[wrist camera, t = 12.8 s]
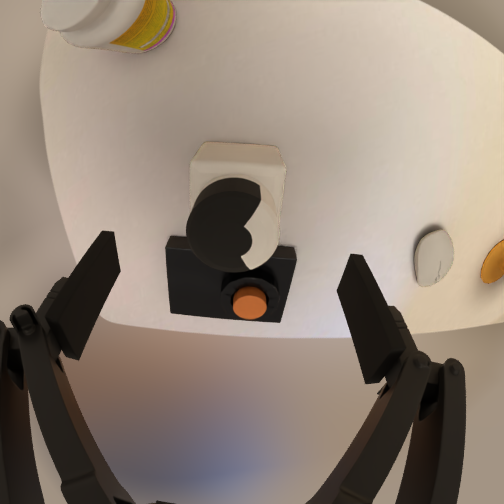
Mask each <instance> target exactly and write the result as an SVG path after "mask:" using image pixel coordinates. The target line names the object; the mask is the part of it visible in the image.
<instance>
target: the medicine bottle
mask: <svg viewBox="0 0 504 504" xmlns="http://www.w3.org/2000/svg"><path fill="white" fill-rule="evenodd" d="M285 177H286V167H285V164H284V162H283V159H282V157H281V155H280V152H279V150H278V148H277V147H276V146H268V145H256V144H241V143H221V142H204V143H203V144H202V146H201V147H200V149H199V150H198V151H197V153H196V154H195V156H194V157H193V159H192V160H191V162H190V216H189V218H188V221H187V226H186V235H187V240H188V243H189V246H190V248H191V250H192V251H193V253H194V254H195V255H196V257H198V258H199V259H200V260H201V261H202V262H203V263H205V264H206V265H208V266H210V267H212V268H214V269H217V270H220V271H224V272H244V271H248V270H252V269H254V268H256V267H258V266H260V265H262V264H263V263H264V262H266V261H267V260H268V259H269V258H270V257H271V256H272V254H273V253H274V252H275V250H276V248H277V245H278V243H279V238H280V228H279V221H280V214H281V207H282V199H283V192H284V184H285Z"/></svg>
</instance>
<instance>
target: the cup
mask: <svg viewBox="0 0 504 504" xmlns="http://www.w3.org/2000/svg"><path fill="white" fill-rule="evenodd" d="M503 275H504V240H503V241H501V242H500V243H498V244H497V245H496V246H495V247H494V248H493V249H492V250H491V251H490V252H489V254H488V256H487V257H486V259H485V261H484V263H483V266H482V269H481V278H482V280H483V282H484V283H488V284H489V283H492V282H495V281H496V280H498V279H499V278H501V277H502V276H503Z"/></svg>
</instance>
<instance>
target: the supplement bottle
mask: <svg viewBox="0 0 504 504" xmlns="http://www.w3.org/2000/svg"><path fill="white" fill-rule="evenodd" d="M41 19H42V22H43V23H44V25H45V26H46V27H47V28H49V29H51V30H55V31H59V32H60V34H61V36H62V37H63V38H64V39H65V40H66V41H67V42H68V43H70V44H72V45H74V46H77V47H82V48H93V49H103V50H111V51H119V52H125V53H143V52H147V51H149V50H152V49H154V48H156V47H157V46H159V45H160V44H161V43H163V42H164V41H165V40H166V39H167V38H168V36H169V35H170V33H171V32H172V30H173V28H174V25H175V22H176V10H175V7H174V5H173V3H172V2H171V1H170V0H43V1H42V5H41Z"/></svg>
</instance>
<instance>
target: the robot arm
mask: <svg viewBox="0 0 504 504" xmlns="http://www.w3.org/2000/svg"><path fill="white" fill-rule="evenodd" d="M120 272H121V270H120V265H119V259H118V254H117V248H116V241H115V235H114V232H112V231H102V232H101V233H100V234H99V236H98V237H97V238H96V240H95V241H94V242H93V244H92V245H91V246H90V248H89V249H88V250H87V252H86V253H85V255H84V256H83V257H82V259H81V260H80V262H79V263H78V264H77V266H76V267H75V269H74V271H73V272H72V273H71V275H70V276H69V278H66V277H62V278H61V279H60V280H59V281H57V282H56V283H55V284H54V286H53V287H52V289H51V290H50V292H49V293H48V295H47V298H45V300H44V301H43V303H42V304H41V306H40V308H39V309H38V311H37V312H36V313H35V311H34V309H33V307H32V306H30V305H26V304H25V305H20V306H18V307H17V308H15V310H14V311H12V313H11V315H10V321H11V323H12V325H13V327H14V328H7V327H6V326H5V324H4V322H2V321H1V320H0V504H45V503H44V498H43V494H42V490H41V486H40V482H39V477H38V473H37V468H36V462H35V457H34V450H33V444H32V437H31V427H30V416H29V400H28V390H29V393H30V397H31V401H32V404H33V408H34V411H35V414H36V417H37V420H38V423H39V426H40V429H41V432H42V435H43V437H44V440H45V443H46V445H47V448H48V450H49V453H50V455H51V458H52V460H53V462H54V464H55V467H56V469H57V471H58V473H59V475H60V478H61V480H62V484H61V491H62V493H63V496H64V498H65V500H66V501H67V503H68V504H136V503H135V502H134V501H133V499H132V498H131V496H130V495H129V494H128V492H127V491H126V490H125V489H124V488H123V487H122V486H121V485H120V483H119V482H118V480H117V479H116V477H115V476H114V474H113V472H112V471H111V469H110V467H109V466H108V464H107V462H106V461H105V459H104V457H103V455H102V453H101V452H100V450H99V448H98V446H97V444H96V442H95V440H94V438H93V436H92V434H91V432H90V430H89V428H88V426H87V424H86V422H85V420H84V417H83V415H82V413H81V411H80V408H79V406H78V404H77V401H76V399H75V396H74V394H73V391H72V389H71V386H70V384H69V381H68V378H67V376H66V373H65V371H64V367H63V364H62V361H61V359H60V357H59V354H60V352H61V350H62V351H63V353H64V355H65V356H66V357H68V358H72V359H75V360H79V359H80V357H81V354H82V352H83V350H84V347H85V345H86V343H87V340H88V338H89V336H90V333H91V331H92V329H93V327H94V325H95V322H96V320H97V318H98V316H99V314H100V312H101V309H102V307H103V305H104V303H105V301H106V299H107V297H108V295H109V293H110V291H111V289H112V287H113V285H114V283H115V281H116V279H117V277H118V275H119V273H120ZM337 293H338V296H339V299H340V302H341V305H342V308H343V311H344V314H345V317H346V320H347V324H348V327H349V330H350V333H351V336H352V340H353V343H354V346H355V349H356V353H357V356H358V360H359V363H360V367H361V370H362V374H363V378H364V381H365V384H372V383H379V382H380V381H381V380H382V379H383V377H384V376H385V378H386V381H387V383H386V384H385V385H384V386H383V387H382V388H381V390H380V391H379V392H378V393H377V394H379V396H378V398H377V400H376V402H375V404H374V406H373V407H372V409H371V411H370V413H369V415H368V417H367V418H366V420H365V422H364V424H363V425H362V427H361V429H360V430H359V432H358V434H357V435H356V437H355V438H354V440H353V442H352V443H351V445H350V447H349V448H348V450H347V451H346V453H345V454H344V456H343V457H342V459H341V460H340V461H339V463H338V465H337V466H336V468H335V469H334V470H333V471H332V473H331V474H330V476H329V477H328V478H327V480H326V481H325V483H324V484H323V485H322V486H321V488H320V489H319V490H318V492H317V493H316V494H315V495H314V496H313V497H312V498H311V499H310V500H309V501H308V502H307V503H306V504H372V502H373V499H374V498H375V496H376V494H377V493H378V491H379V490H380V488H381V486H382V484H383V483H384V481H385V479H386V477H387V476H388V474H389V472H390V470H391V468H392V466H393V464H394V462H395V460H396V458H397V456H398V454H399V452H400V450H401V448H402V446H403V443H404V441H405V439H406V437H407V434H408V432H409V430H410V427H411V425H412V423H413V428H412V434H411V440H410V446H409V450H408V455H407V460H406V465H405V469H404V473H403V477H402V482H401V485H400V489H399V493H398V496H397V500H396V503H395V504H457V499H458V494H459V488H460V482H461V475H462V467H463V458H464V445H465V429H466V390H465V371H464V368H463V366H462V364H461V363H460V362H459V361H458V360H456V359H453V358H449V359H447V360H446V361H445V363H444V364H440V363H435V362H431V360H430V358H429V357H428V355H426V354H425V353H423V352H421V351H418V349H417V347H416V345H415V343H414V340H413V339H412V336H411V334H410V332H409V329H407V325H406V323H405V322H404V319H403V317H402V315H401V313H400V312H399V311H398V310H397V309H396V307H395V306H388V305H387V303H386V301H385V298H384V296H383V294H382V292H381V290H380V288H379V286H378V284H377V282H376V280H375V278H374V276H373V274H372V272H371V270H370V268H369V266H368V265H367V263H366V261H365V259H364V257H363V255H358V254H350V257H349V259H348V262H347V265H346V268H345V270H344V273H343V276H342V278H341V281H340V283H339V286H338V289H337ZM413 420H414V421H413ZM151 504H174V503H167V502H161V501H156V503H151Z"/></svg>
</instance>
